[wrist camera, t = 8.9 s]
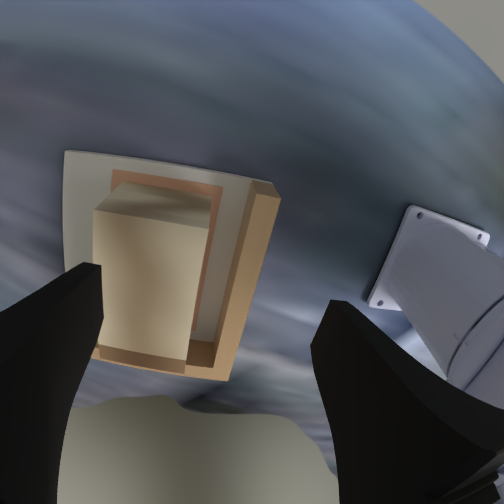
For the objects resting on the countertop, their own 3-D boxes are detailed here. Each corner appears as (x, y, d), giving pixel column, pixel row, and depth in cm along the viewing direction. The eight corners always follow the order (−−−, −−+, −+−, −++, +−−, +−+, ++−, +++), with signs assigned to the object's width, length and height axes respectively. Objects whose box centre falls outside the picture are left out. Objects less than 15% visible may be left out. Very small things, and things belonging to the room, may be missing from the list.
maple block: (212, 195, 17) (208, 229, 13) (189, 323, 21) (184, 373, 17) (123, 181, 16) (93, 209, 12) (117, 310, 20) (100, 358, 16)
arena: (271, 182, 17) (281, 198, 15) (226, 351, 23) (227, 381, 20) (68, 149, 15) (43, 160, 12) (74, 323, 21) (60, 350, 18)
